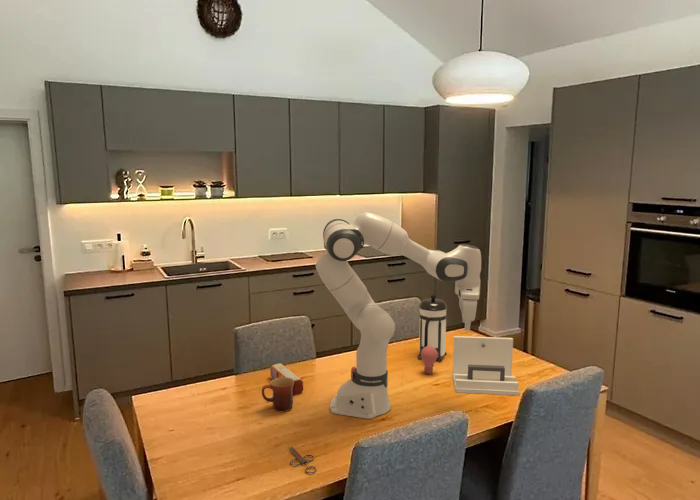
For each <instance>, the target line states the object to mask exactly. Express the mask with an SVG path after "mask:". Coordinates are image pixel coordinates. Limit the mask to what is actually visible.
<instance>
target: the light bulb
mask: <svg viewBox="0 0 700 500" xmlns="http://www.w3.org/2000/svg"><path fill="white" fill-rule="evenodd" d="M420 357H421V358H422V359H421V360H422V362H423V363H424V365H423V366H424V371H423V372H424V373H425V374H432V373H433V370H434V367H435V366H434V365H435V363H436V361H437V357H438V353H437V351H436V349H435V348H434V347H432V346H426V347H424V348H423V349H422V351H421V355H420Z"/></svg>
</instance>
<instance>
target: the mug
mask: <svg viewBox="0 0 700 500" xmlns="http://www.w3.org/2000/svg"><path fill="white" fill-rule="evenodd" d="M269 383H270V384H265V385H264V386H262V388H261V395H262V398H263V399H264V400H265V401H267V402H270V403H272V406H273V409H274V410H275V411H276V412H280V411H284V412H288V411H289V410H292V408H293V405H294V395H293V385H294V380H293V379H291V378H288V377H280V378H276V379H273V378H272V380H271V381H270V382H269ZM265 389H271V390H272V397H267V396H266V395H265ZM287 410H288V411H287Z"/></svg>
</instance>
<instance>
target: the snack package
mask: <svg viewBox="0 0 700 500" xmlns="http://www.w3.org/2000/svg"><path fill="white" fill-rule="evenodd" d="M269 369H270V370H269V371H270V372H269V374H270V377H271V379H272V380H273V379H276V378H280V377H288V378H291V379H293V380H294V385H293V396H296V394H297V395H300V394H302V393H303V391H304V380H303V379H302V378H301V377H299V376H298V375H296V373H294V372H293V371H291V370H290V369H289V368H288V367H286V366H285V365H283V364H282V362H281V363H275V364H272V365H270V368H269ZM299 393H300V394H299Z"/></svg>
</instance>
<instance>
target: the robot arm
mask: <svg viewBox="0 0 700 500" xmlns="http://www.w3.org/2000/svg"><path fill="white" fill-rule="evenodd" d="M322 236H323V237H322V238H323V245H324V249H325V252H324V253H323V254H322V255H320V256H319V257H318V258H317V260H316V262H315V269H316V272H317V274H318V276H319V277H320V279H321V281H322V283H323V284H324V285H325V287H326V288H327V290H328V291H329V292H330V293H331V295H332V296H333V297H334V299H335V300H336V302H338V304H339V305H340V306H341V308H342V310H343V311H344V312H345V314H346V315H347V317H348V318H349V321H351V323H352V324H353V325H354V327H356V328H357V330H358V331H360V341H359V342H360V343H359V345H358V347H357V349H356V351H355V352H356V353H355V354H356V363H355V364H356V366H352V367H351V370H350V379H349V380H348V381H346V382H344V383H342V385H341V386H339V387H338V390H337V393H336V395H335V396H334V397H332V399H331V401H330V404H329V410H331V411H330V413H332V414H335V415H341V416H348V417H355V418H360V419H361V418H362V419H368V420H372V419H373V418H376V417H378V416H381V415H384V414H386V413H388V412H389V411H390V410H391V408H392V405H391V403H390V399H389V391H388V384H389V374H388V373H389V372H388V369H387V365H388V363H387V357H388V347H389V343H390V339H391V338H392V337H393V336H394V334H395V331H396V324H395V321H394V320H393V318H392V316H391V314H389V312H387V311H386V310H384V309H383V308H381V306H379V305H378V304H377V303H376V302H375V301H374V299H373V298H372V296H371V294H370V293H369V291H368V289H367V286H366V285H365V284H364V283H363V280H361V278H360V277H359V276H358V274H357V273H356V272H355V270H354V269H353V268H352V266H351V265H350V264H349V262H348V261H349V260H351V259H353V258H354V257H355V256H356V255H357V253H358V252H359V251H360V250H362V249H363V248H364V246H365V245H367V246H369V247H371V248H372V249H375V250H377V251H379V252H381V253H383V254H386V255H390V256H393V257H397V256H399V255H401V256H404V257H405V258H408V259H410V260H411V261H412V262H415V263H417V264H418V265H420V266H421V268H422V269H423V270H424V272H425V273H426V274H428V275H429V276H432V277H434V278H436V279H438V281H442V282H444V283H452V282H454V283H455V287H454V294H456V295H457V298H458V299H459V300H458V301H459V302H458V305H459V306H458V307H459V309H460V312H461V322H462V323H464V330H465V331H470V330H471V324H472V322H474V321H475V319H476V314H477V307H478V300H480V295H481V272H482V254H481V253H482V252H481V250H480V249H479V248H478V247H477V246H475V245H471V244H464V243H461V244H459V245H458V246H457V247H455V248H454V249H453V250H451V251H449V252H444V251H442V250H441V249H437V248H436V249H435V248H433V249H432V248H427V247H425V246H423V245H421V244H419V243H417V242H415V240H414V241H413V239H410V238H409V234H408V232H407V231H406V230H405V229H404V228H403V227H401V225H399V224H397V223H396V222H394V221H392V220H390V219H388V218H386V217H384V216H382V215H379V214H376V213H374V212H370V211H364V212H361V213H360V214H359V215H357V216H356V218H355V220H354V221H353V222H351V223H349V222H348V221H346V220H344V219H342V218H341V219H340V218H335V219H332V220H330V221H329V222H328V223H326V225H325V226H324V229H323V233H322Z"/></svg>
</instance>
